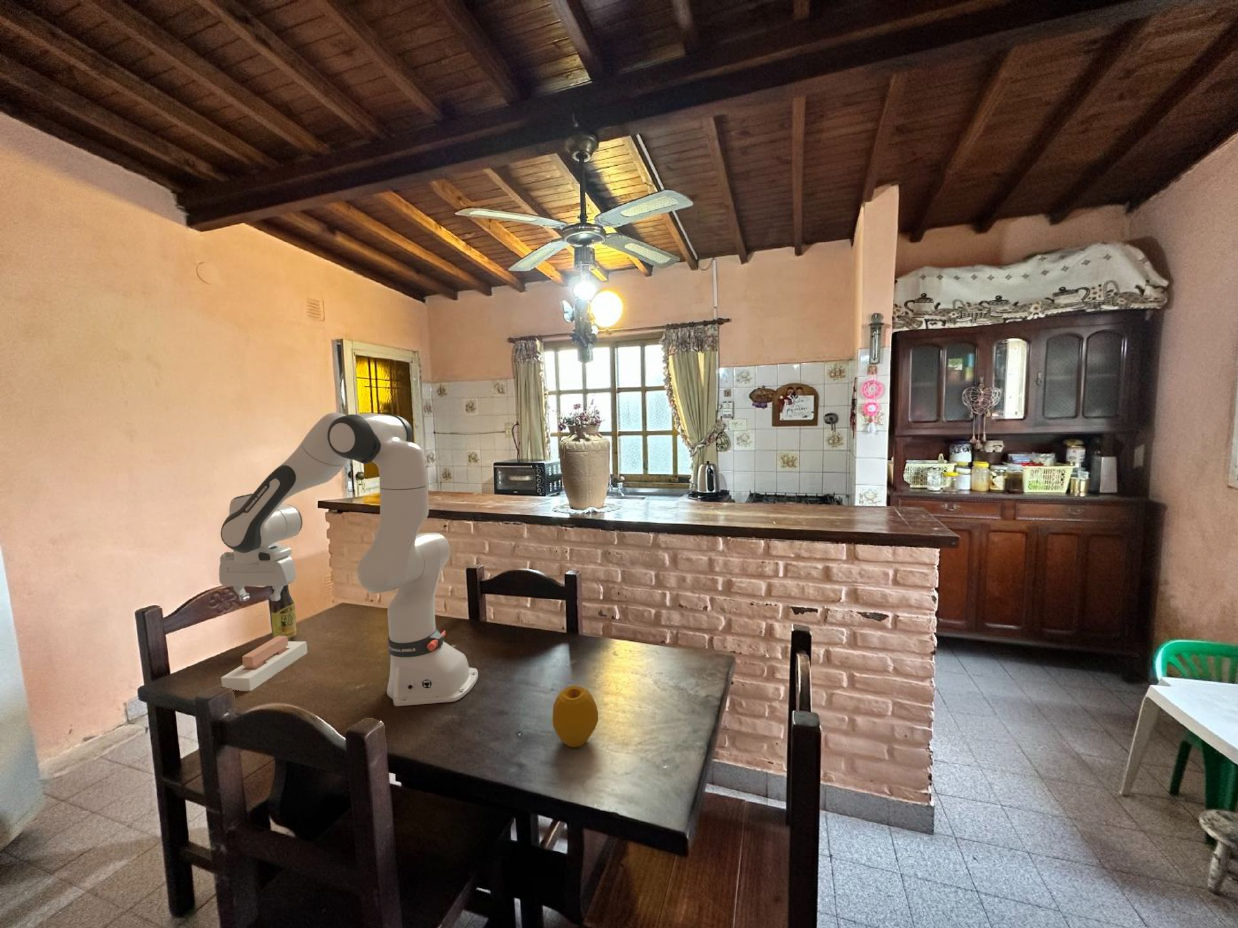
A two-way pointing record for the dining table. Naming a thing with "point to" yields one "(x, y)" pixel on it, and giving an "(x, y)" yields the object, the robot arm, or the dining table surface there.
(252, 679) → the slot rail
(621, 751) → the dining table surface
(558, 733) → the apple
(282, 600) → the sauce bottle
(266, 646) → the prong clip
